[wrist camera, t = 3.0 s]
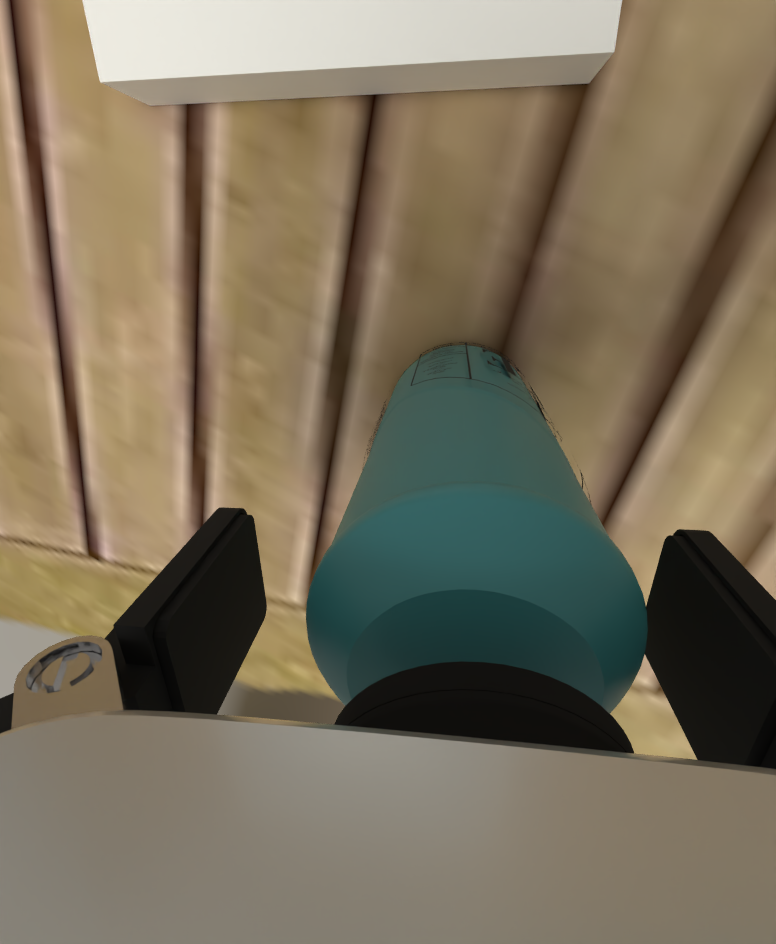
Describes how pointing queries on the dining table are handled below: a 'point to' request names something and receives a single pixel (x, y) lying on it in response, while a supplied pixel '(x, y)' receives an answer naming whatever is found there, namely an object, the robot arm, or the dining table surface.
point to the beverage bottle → (475, 573)
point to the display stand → (343, 46)
